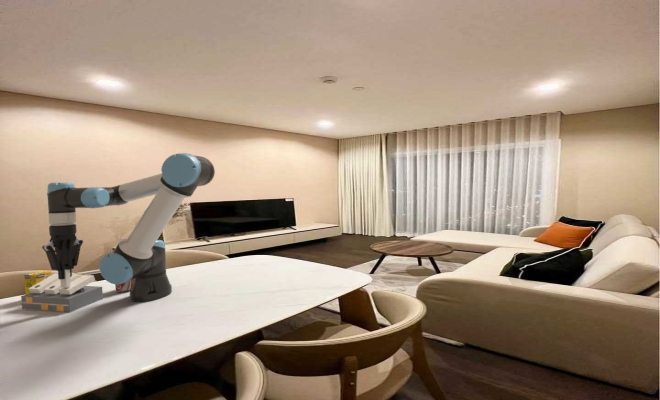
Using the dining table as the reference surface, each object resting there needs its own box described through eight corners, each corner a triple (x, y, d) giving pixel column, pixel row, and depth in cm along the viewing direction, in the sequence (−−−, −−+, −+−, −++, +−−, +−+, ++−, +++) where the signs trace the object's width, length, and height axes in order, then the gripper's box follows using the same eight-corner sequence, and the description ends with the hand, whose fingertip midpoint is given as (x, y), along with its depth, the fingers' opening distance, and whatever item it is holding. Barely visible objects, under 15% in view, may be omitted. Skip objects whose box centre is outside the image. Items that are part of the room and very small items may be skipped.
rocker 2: (80, 278, 122) (78, 273, 121) (55, 294, 113) (53, 289, 112) (70, 277, 123) (68, 273, 122) (45, 293, 114) (43, 289, 113)
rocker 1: (66, 277, 123) (64, 273, 122) (40, 293, 114) (38, 288, 113) (56, 277, 124) (54, 272, 123) (30, 292, 115) (28, 288, 114)
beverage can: (111, 292, 130) (109, 264, 129) (129, 286, 137) (127, 260, 137) (124, 294, 127) (122, 266, 127) (141, 287, 135) (140, 261, 134)
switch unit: (102, 298, 122) (101, 283, 122) (69, 312, 109) (68, 295, 109) (58, 296, 126) (57, 281, 126) (21, 309, 113) (20, 292, 113)
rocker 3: (95, 279, 121) (93, 275, 120) (70, 294, 111) (68, 289, 111) (85, 279, 122) (83, 274, 121) (60, 293, 112) (58, 288, 112)
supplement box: (37, 302, 120) (35, 275, 120) (25, 301, 121) (23, 274, 121) (53, 296, 126) (51, 271, 125) (42, 295, 127) (40, 270, 127)
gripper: (72, 222, 118) (74, 281, 119) (34, 226, 105) (37, 292, 106) (88, 222, 117) (90, 282, 118) (52, 226, 104) (55, 293, 105)
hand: (65, 286), depth 112 cm, fingers closed
